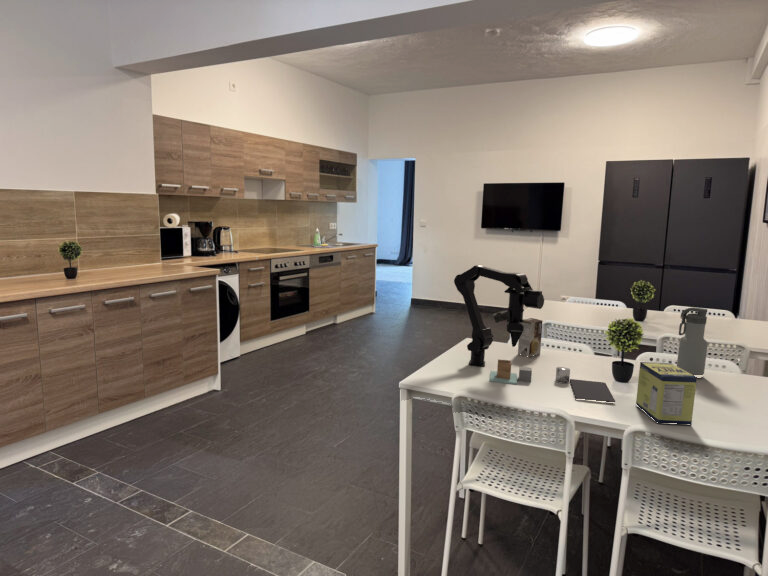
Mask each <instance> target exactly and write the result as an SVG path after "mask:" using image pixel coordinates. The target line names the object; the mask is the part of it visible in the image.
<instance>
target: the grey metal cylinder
mask: <svg viewBox="0 0 768 576" xmlns="http://www.w3.org/2000/svg"><path fill="white" fill-rule="evenodd" d="M570 375H571V368H568V367H565V366H557V367H556V369H555V379H554V380H556V381H558V382H557V383H559V382H562V383H561V384H568V383H567V382H569V383H570V379H571V378H570ZM556 381H555V382H556Z"/></svg>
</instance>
